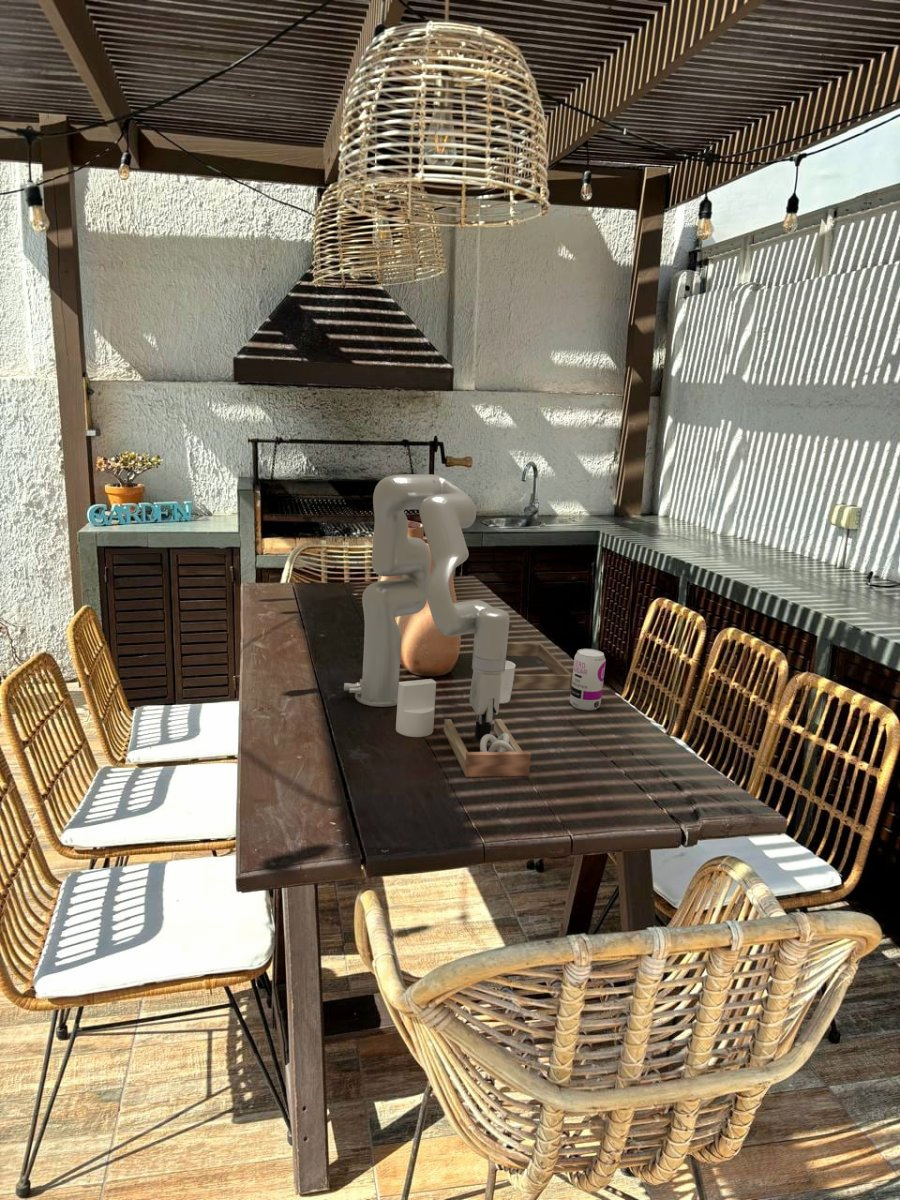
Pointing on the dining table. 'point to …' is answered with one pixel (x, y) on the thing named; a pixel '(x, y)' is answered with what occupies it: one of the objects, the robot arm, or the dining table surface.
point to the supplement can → (587, 679)
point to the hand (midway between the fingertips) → (482, 738)
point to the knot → (496, 743)
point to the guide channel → (489, 755)
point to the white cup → (507, 682)
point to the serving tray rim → (556, 681)
